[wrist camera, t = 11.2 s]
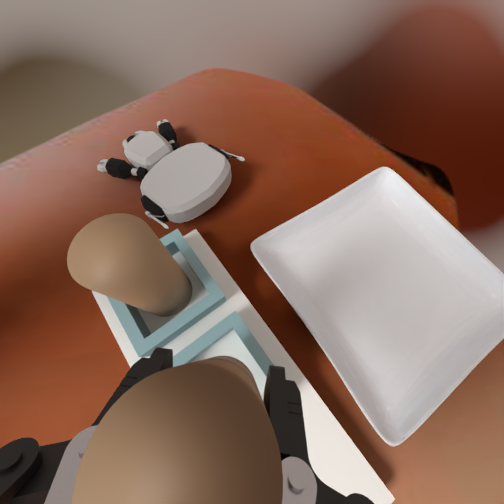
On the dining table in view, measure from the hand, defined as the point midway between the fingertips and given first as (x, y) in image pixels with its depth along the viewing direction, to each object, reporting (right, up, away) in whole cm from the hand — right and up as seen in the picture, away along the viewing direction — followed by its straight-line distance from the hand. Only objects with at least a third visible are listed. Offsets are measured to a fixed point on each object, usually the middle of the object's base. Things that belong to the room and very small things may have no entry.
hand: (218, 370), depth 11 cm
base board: (-1, -6, +11) cm, 12 cm away
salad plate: (+16, +2, +16) cm, 22 cm away
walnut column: (0, -4, +4) cm, 6 cm away
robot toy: (-8, +15, +19) cm, 26 cm away
